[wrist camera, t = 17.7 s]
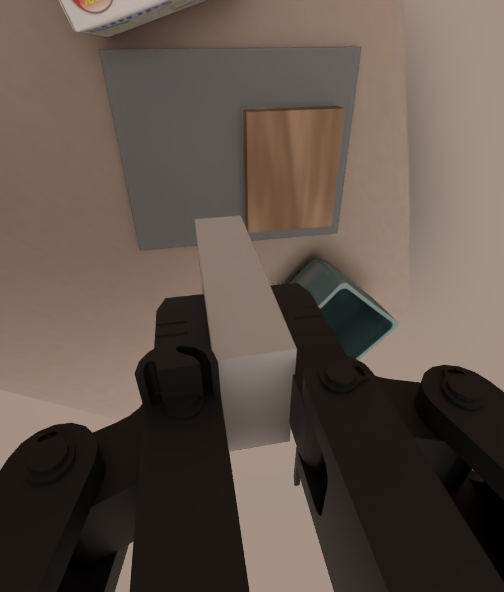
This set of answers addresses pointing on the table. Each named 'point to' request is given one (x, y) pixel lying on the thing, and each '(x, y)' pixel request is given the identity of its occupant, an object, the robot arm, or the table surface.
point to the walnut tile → (290, 166)
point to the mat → (211, 127)
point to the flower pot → (346, 308)
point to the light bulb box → (118, 14)
